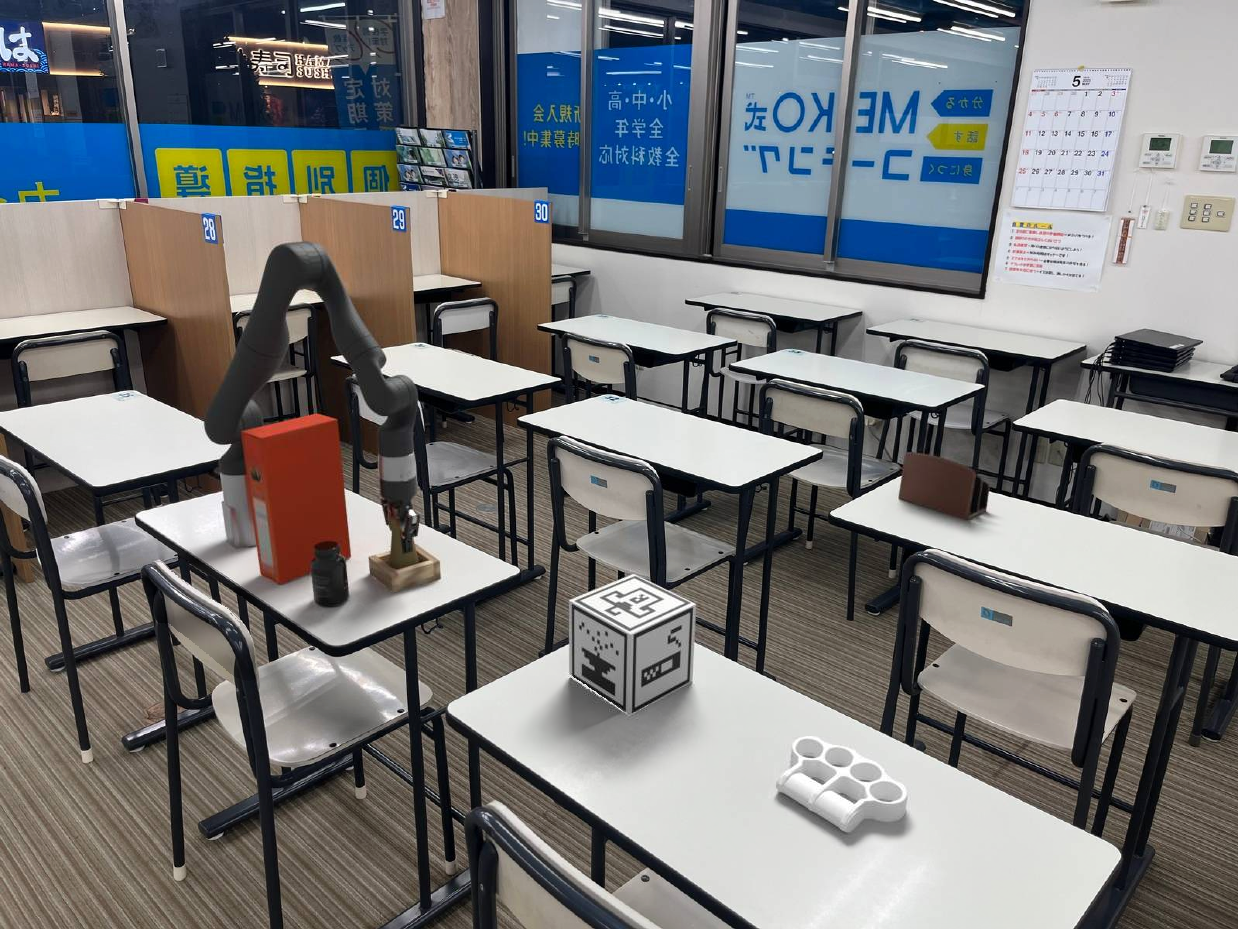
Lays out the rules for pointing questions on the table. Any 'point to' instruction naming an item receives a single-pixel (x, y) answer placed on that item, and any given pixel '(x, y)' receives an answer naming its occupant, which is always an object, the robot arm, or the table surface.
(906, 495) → the letter holder
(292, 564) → the file binder
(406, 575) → the oak holder
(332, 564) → the supplement bottle
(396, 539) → the olive knobbed tapered cylinder
